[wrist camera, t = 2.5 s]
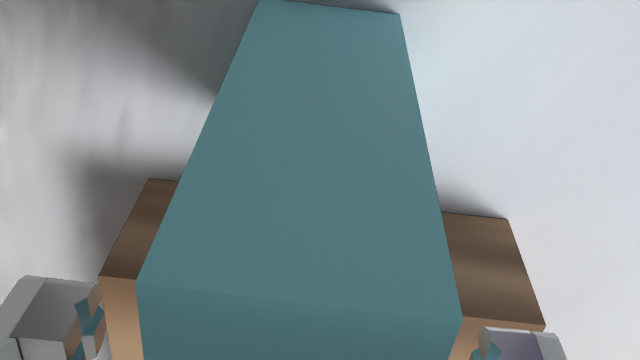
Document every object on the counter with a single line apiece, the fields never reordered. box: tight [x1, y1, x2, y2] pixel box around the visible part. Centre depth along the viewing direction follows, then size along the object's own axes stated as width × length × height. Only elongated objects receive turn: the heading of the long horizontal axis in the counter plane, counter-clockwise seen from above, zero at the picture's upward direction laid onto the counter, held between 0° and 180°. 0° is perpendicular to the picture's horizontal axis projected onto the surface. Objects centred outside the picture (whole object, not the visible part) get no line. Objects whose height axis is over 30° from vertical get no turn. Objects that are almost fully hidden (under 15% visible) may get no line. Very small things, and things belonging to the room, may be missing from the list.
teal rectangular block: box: [135, 0, 463, 360], centre depth 16 cm, size 5×5×14 cm
